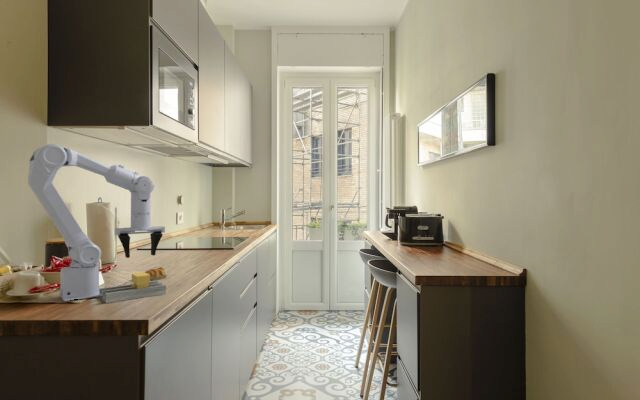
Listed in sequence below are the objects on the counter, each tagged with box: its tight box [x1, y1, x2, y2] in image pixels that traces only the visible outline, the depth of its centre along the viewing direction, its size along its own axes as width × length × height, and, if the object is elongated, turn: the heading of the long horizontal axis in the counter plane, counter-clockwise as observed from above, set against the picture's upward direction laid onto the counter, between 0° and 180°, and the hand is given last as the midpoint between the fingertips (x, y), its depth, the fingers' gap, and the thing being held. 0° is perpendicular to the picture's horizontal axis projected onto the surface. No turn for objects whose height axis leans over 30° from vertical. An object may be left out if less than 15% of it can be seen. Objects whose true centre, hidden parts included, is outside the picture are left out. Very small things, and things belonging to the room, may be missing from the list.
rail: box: [99, 280, 167, 304], centre depth 111 cm, size 16×8×2 cm, turn 131°
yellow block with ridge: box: [131, 271, 151, 289], centre depth 112 cm, size 4×5×5 cm
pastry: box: [144, 266, 168, 282], centre depth 134 cm, size 9×7×4 cm
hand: (140, 256), depth 121 cm, fingers open, 7 cm apart
